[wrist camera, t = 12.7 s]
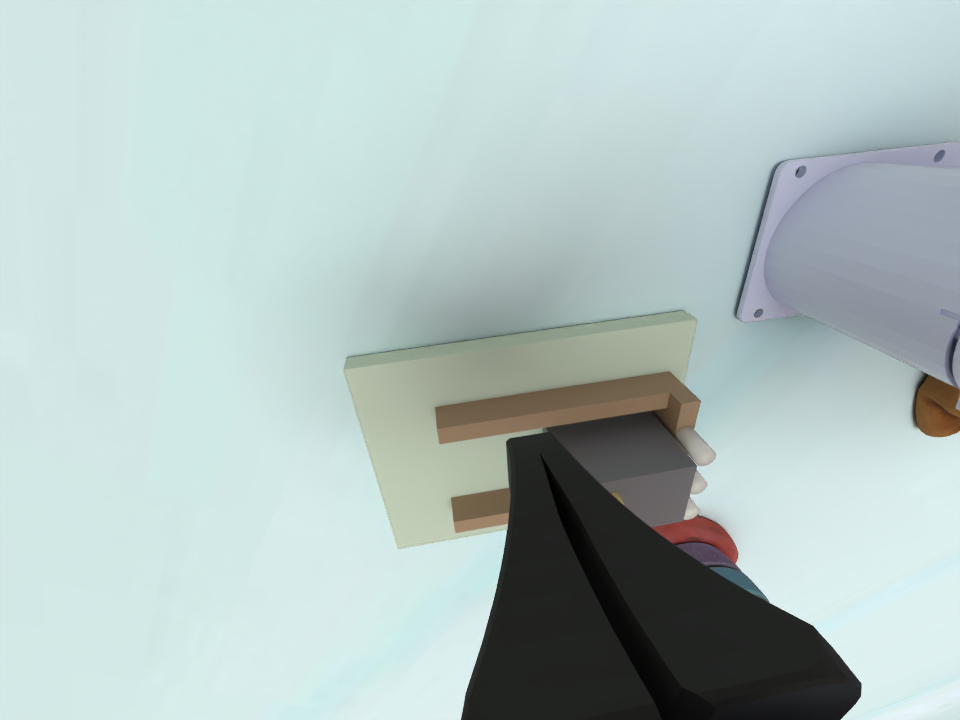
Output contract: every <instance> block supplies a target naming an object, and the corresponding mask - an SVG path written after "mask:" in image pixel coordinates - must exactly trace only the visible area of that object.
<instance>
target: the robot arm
mask: <svg viewBox="0 0 960 720" xmlns="http://www.w3.org/2000/svg"><path fill="white" fill-rule="evenodd" d="M798 168H799V172H798V174H797V175H796V176H795V172H796V170H797V169H798ZM757 310H758V311H757ZM756 311H757V312H756ZM755 312H756V313H755ZM754 313H755V314H754ZM803 314H804V315H806V316H808V317H810V318H812V319H814V320H816V321H818V322H820V323H823V324H825V325H827V326H829V327H831V328H833V329H835V330H837V331H839V332H841V333H843V334H845V335H848V336H850V337H852V338H854V339H856V340H858V341H860V342H862V343H864V344H866V345H868V346H870V347H873V348H875V349H877V350H879V351H881V352H883V353H885V354H887V355H889V356H891V357H893V358H895V359H897V360H900V361H902V362H904V363H906V364H908V365H910V366H912V367H914V368H916V369H918V370H920V371H922V372H925V373H927V374H929V375H931V376H933V377H935V378H937V379H939V380H941V381H943V382H945V383H947V384H950V385H952V386H954V387H956V388H958V389H960V142H948V143H939V144H930V145H921V146H912V147H903V148H894V149H885V150H876V151H867V152H858V153H849V154H840V155H831V156H822V157H813V158H804V159H795V160H787V161H784V162H783V163H781V164H780V165H779V166H778V167H777V169H776V171H775V173H774V177H773V181H772V184H771V188H770V192H769V196H768V199H767V203H766V207H765V211H764V214H763V218H762V222H761V225H760V229H759V233H758V237H757V240H756V244H755V248H754V252H753V255H752V259H751V263H750V266H749V270H748V274H747V278H746V281H745V285H744V289H743V293H742V296H741V300H740V304H739V307H738V311H737V318H738V319H739V320H741V321H742V322H745V323H748V322H754V321H761V320H768V319H775V318H782V317H789V316H796V315H803ZM956 409H957V410H959V411H960V397H959V400H958V403H957V405H956ZM506 451H507V466H508V481H509V489H510V494H511V497H510V509H509V519H508V528H507V536H506V542H505V548H504V554H503V560H502V565H501V570H500V574H499V579H498V584H497V588H496V593H495V597H494V601H493V605H492V609H491V612H490V616H489V620H488V623H487V627H486V631H485V634H484V638H483V641H482V645H481V648H480V651H479V654H478V658H477V661H476V664H475V667H474V670H473V673H472V676H471V679H470V682H469V685H468V688H467V691H466V695H465V702H464V707H463V713H462V718H461V720H841V719H842V718H843V716H844V715H845V714H846V713H847V712H848V711H849V710H850V709H851V708H852V707H853V706H854V705H855V704H856V702H857V701H858V700H859V698H860V697H861V682H860V681H859V680H858V679H857V677H856V676H855V675H854V674H853V672H852V671H851V670H850V669H849V667H848V666H847V665H846V664H845V662H844V661H843V660H842V658H841V657H840V656H839V655H838V654H837V652H836V651H835V650H834V649H833V647H832V646H831V645H830V644H829V643H828V642H827V641H826V640H825V639H824V638H823V637H822V635H821V634H820V633H819V632H818V631H817V630H816V629H815V628H814V626H812V625H810V624H808V623H807V622H805V621H803V620H801V619H799V618H797V617H795V616H793V615H791V614H789V613H787V612H786V611H784V610H782V609H780V608H778V607H776V606H774V605H772V604H770V603H768V602H767V601H765V600H763V599H761V598H759V597H757V596H755V595H754V594H752V593H750V592H748V591H747V590H745V589H743V588H741V587H740V586H738V585H736V584H735V583H733V582H731V581H730V580H728V579H726V578H724V577H723V576H721V575H720V574H718V573H717V572H715V571H714V570H712V569H710V568H709V567H707V566H706V565H704V564H703V563H701V562H700V561H698V560H697V559H695V558H694V557H692V556H690V555H689V554H687V553H686V552H684V551H683V550H681V549H680V548H679V547H677V546H676V545H674V544H673V543H672V542H670V541H669V540H667V539H666V538H665V537H663V536H662V535H661V534H659V533H658V532H657V531H655V530H654V529H653V528H651V527H650V526H649V525H648V524H646V523H645V522H644V521H642V520H641V519H640V518H639V517H638V516H636V515H635V514H634V513H633V512H632V511H630V510H629V509H628V508H627V507H626V506H625V505H623V504H622V503H621V502H620V501H619V500H618V499H617V498H615V497H614V496H613V495H612V494H611V493H610V492H609V491H608V490H607V489H606V488H605V487H603V486H602V485H601V484H600V483H599V482H598V481H597V480H596V479H595V478H594V477H593V476H592V475H591V474H590V473H589V472H588V471H587V470H586V469H585V468H584V467H583V466H582V465H581V464H580V463H579V462H578V460H577V459H576V458H575V457H574V456H573V455H572V454H571V453H570V452H569V451H568V450H567V448H566V447H565V446H564V445H563V444H562V443H561V442H560V440H559V439H558V438H557V437H556V436H555V435H554V434H553V433H552V432H545V433H539V434H533V435H526V436H520V437H514V438H509V439H508V440H507V441H506Z"/></svg>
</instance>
